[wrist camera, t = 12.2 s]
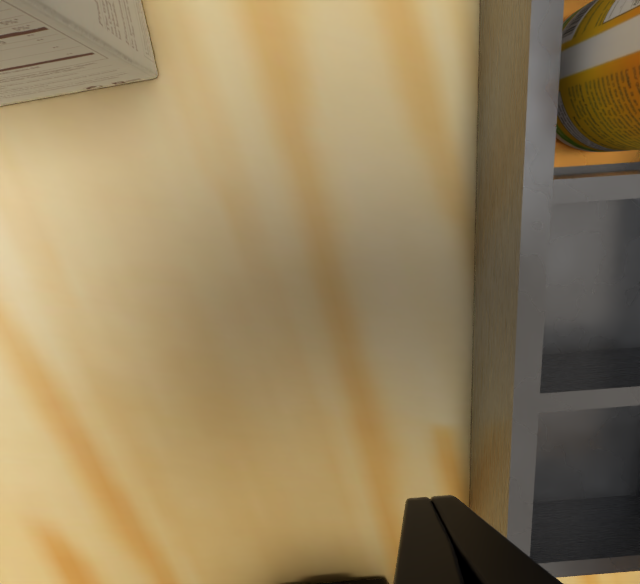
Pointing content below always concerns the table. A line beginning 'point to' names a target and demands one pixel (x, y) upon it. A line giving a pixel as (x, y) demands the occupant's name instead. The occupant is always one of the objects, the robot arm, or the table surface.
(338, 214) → the table surface
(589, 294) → the compartment organizer tray
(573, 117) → the supplement bottle
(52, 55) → the supplement box
